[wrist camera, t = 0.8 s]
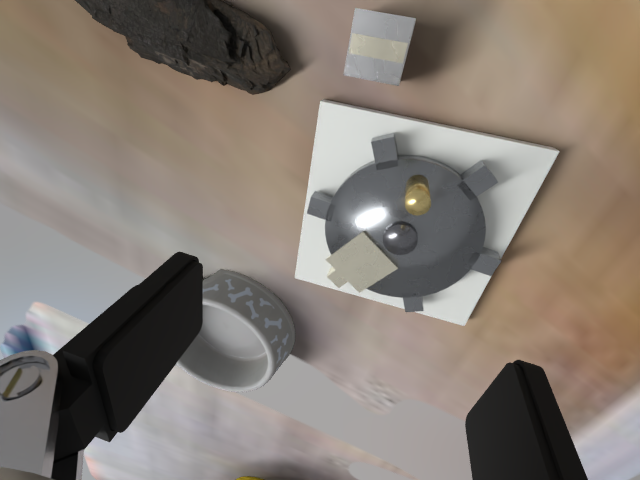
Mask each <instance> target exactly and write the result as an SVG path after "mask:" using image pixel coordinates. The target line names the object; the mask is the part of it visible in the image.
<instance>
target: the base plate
mask: <svg viewBox="0 0 640 480" xmlns="http://www.w3.org/2000/svg"><path fill="white" fill-rule="evenodd" d="M391 133H395V138H396V144H397V150H398V155H418V156H424V157H428V158H431V159H435V160H437V161H439V162H442V163H444V164H446V165H448V166H449V167H451V168H452V169H454V170H455V171H457V172H458V173H459V174H460V175H461V174H462V173H463V172H465V171H466V170H468V169H469V168H470V167H472V166H473V165H475V164H476V163H477V162H479V161H480V160H482V161H483V163H484V164H485V165H486V166H487V167H488V169H489V170H490V171H491V172H492V174H493V175H494V176H495V178H496V179H497V181H498V183H497V184H495V185H494V186H492V187H491V188H489V189H488V190H486V191H485V192H483V193H482V194H480V195H479V196H477V198H478V200H479V202H480V205H481V207H482V209H483V213H484V217H485V225H486V234H485V241H484V245H483V247H485V248H488V249H491V250H494V251H497V252H498V253H499V256H500V258H502V256H503V254H504V252H505V250H506V249H507V247H508V245H509V243H510V241H511V239H512V238H513V236H514V234H515V232H516V230H517V228H518V227H519V225H520V223H521V221H522V219H523V217H524V216H525V214H526V212H527V210H528V208H529V206H530V205H531V203H532V201H533V199H534V197H535V195H536V194H537V192H538V190H539V188H540V186H541V185H542V183H543V181H544V179H545V177H546V175H547V174H548V172H549V170H550V168H551V166H552V164H553V163H554V161H555V159H556V157H557V155H558V153H559V152H560V151H558V150H557V149H555V148H554V147H549V146H544V145H539V144H535V143H530V142H525V141H520V140H516V139H511V138H506V137H501V136H497V135H492V134H487V133H482V132H477V131H473V130H468V129H463V128H458V127H454V126H449V125H444V124H439V123H435V122H430V121H425V120H420V119H415V118H411V117H406V116H401V115H396V114H392V113H387V112H382V111H377V110H373V109H368V108H363V107H358V106H353V105H349V104H344V103H339V102H334V101H330V100H325V99H323V100H321V101H320V107H319V114H318V121H317V128H316V135H315V141H314V148H313V155H312V162H311V169H310V176H309V183H308V190H307V196H306V203H305V210H304V217H303V224H302V231H301V238H300V245H299V251H298V258H297V265H296V272H295V278H297V279H300V280H304V281H307V282H311V283H314V284H318V285H321V286H325V287H328V288H332V289H335V290H339V291H342V292H346V293H350V294H353V295H357V296H360V297H364V298H367V299H371V300H374V301H378V302H381V303H385V304H388V305H392V306H395V307H399V308H403V309H405V307H404V302H403V298H399V297H391V296H386V295H382V294H378V293H376V292H373V291H370V290H368V289H365V290H363V291H361V292H360V293H359V292H358V291H357V290H356V289H355V288H354V287H353V286H352V285H351V284H350V283H349V282H347V283H346V284H344V285H343V286H341V287H340V288H338V287H337V286H336V285H335V284H334V283H333V282H332V281H331V280H330V279H328V278H327V274H328V272H329V269H330V268H331V267H332V266H331V265H330V264H329V263H328V262H327V261H326V258H328V257H329V256H330V255H331V253H330V251H329V248H328V245H327V242H326V236H325V220H324V219H321V218H318V217H315V216H312V215H310V214H307V210H308V207H309V203H310V199H311V196H312V194H313V193H314V192H315V191H318V192H321V193H323V194H326V195H329V196H332V197H334V195H335V193H336V192H337V190H338V188H339V187H340V185H341V184H342V183H343V182H344V180H345V179H346V178H347V177H348V176H350V175H351V174H352V173H353V172H354V171H356V170H357V169H358V168H360V167H361V166H363V165H365V164H367V163H369V162H371V161H374V160H375V159H374V154H373V150H372V145H371V141H372V138H373V137H378V136H382V135H386V134H391ZM490 278H491V276H489V275H486V274H483V273H480V272H477V271H474V270H471V269H470V271H469V272H468V273H467V274H466V275H465V276H464V277H463V278H462V279H460V280H459V281H457V282H456V283H455V284H453V285H451V286H450V287H448V288H446V289H444V290H442V291H439V292H437V293H433V294H430V295H426V296H422V297H423V305H424V311H417V313H420V314H424V315H427V316H431V317H434V318H438V319H441V320H445V321H448V322H452V323H456V324H459V325H463V326H464V325H465V324H466V322H467V320H468V318H469V316H470V314H471V313H472V311H473V309H474V307H475V305H476V303H477V302H478V300H479V298H480V296H481V294H482V293H483V291H484V289H485V287H486V285H487V283H488V282H489V280H490Z"/></svg>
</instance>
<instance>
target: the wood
mask: <svg viewBox="0 0 640 480" xmlns="http://www.w3.org/2000/svg"><path fill="white" fill-rule="evenodd" d="M75 1H76V2H77V3H79V4H80V5H81V6H82V7H83V8H84V9H85V10H87V11H88V12H89V13H90V14H91V15H92V18H93V19H95V20H96V21H98V22H99V23H101V24H103V25H104V26H106V27H108V28H110V29H112V30H113V31H115V32H117V33H119V34H122V35H124V36H126V39H127V42H128V44H127V45H128V46H129V47H130V49H132V50H133V51H135V52H137V53H138V54H139V55H140V56H141V58H145V59H149V60H152V61H154V62H156V63H158V64H160V63H163V64H166V65H168V66H169V67H171V68H172V69H174V70H176V71H178V72H181V73H184V74H187V75H190V76H192V77H193V78H195V79H197V80H198V79H204V80H208V81H211V82H213V81H216V80H217V81H218V82H219V83H220V84H222V85H223V86H224V85H226V84H229V85H231V86H233V87H236V88H239V89H241V90H245V91H247V92H248V93H250V94H252V95H253V94H259V93H263V92H266V91H268V90H270V89H271V88H272V87H273V86H274V85H276V83H277V82H278V81H279V80H280V79H281V78H283V77H284V76H285V74H286V73H287V72H288V71H289V70H291V69H290V68H289V65H287V62H285V61H284V60H283V59H282V58H281V56H280V55H279V49H278V48H277V47H276V45H275V42H274V39H273V37H272V34H271V32H270V31H269V30H268V29H267V28H266V27H265V26H264V25H263V24H262V23H260V22H259V21H257V20H255V19H253V18H251V17H250V16H249V15H248V14H246V13H244V12H242V11H240V10H238V9H236V8H234V7H232V6H230V5H227V4H226V3H224V2H222V1H221V0H75Z"/></svg>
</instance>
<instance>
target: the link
mask: <svg viewBox="0 0 640 480" xmlns="http://www.w3.org/2000/svg"><path fill="white" fill-rule="evenodd" d="M415 23H416V18H411V17H405V16H399V15H394V14H388V13H382V12H376V11H370V10H364V9H359V8H355V12H354V18H353V24H352V29H351V35H350V41H349V47H348V52H347V58H346V64H345V70H344V75H346V76H351V77H356V78H361V79H366V80H371V81H376V82H381V83H386V84H392V85H397V86H399V84H400V81H401V77H402V74H403V70H404V66H405V62H406V58H407V54H408V50H409V46H410V43H411V39H412V35H413V31H414V27H415Z"/></svg>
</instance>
